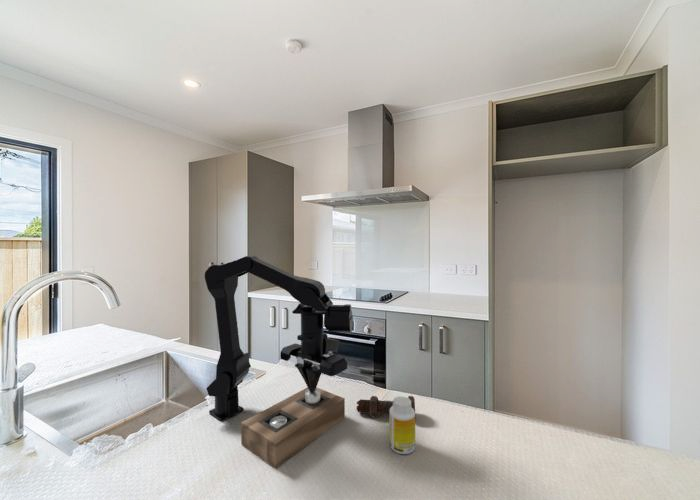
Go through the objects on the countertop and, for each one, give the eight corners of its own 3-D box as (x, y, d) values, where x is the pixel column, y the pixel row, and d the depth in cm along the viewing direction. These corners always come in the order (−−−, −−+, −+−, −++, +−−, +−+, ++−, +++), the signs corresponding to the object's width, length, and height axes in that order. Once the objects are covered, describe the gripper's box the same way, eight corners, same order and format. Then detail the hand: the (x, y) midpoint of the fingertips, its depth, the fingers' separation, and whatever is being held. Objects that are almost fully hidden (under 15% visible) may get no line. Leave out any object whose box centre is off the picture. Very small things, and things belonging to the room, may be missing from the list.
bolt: (358, 418, 79) (415, 421, 76) (355, 418, 74) (415, 422, 72) (358, 394, 81) (414, 396, 79) (356, 392, 77) (414, 395, 75)
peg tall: (266, 442, 66) (266, 421, 66) (279, 434, 69) (279, 413, 69) (277, 449, 63) (276, 427, 63) (290, 440, 67) (290, 419, 66)
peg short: (302, 411, 75) (302, 392, 74) (312, 404, 78) (312, 386, 77) (312, 416, 72) (312, 396, 72) (323, 409, 75) (323, 390, 75)
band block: (241, 444, 65) (241, 422, 65) (311, 402, 83) (311, 385, 83) (275, 469, 58) (275, 444, 58) (344, 417, 76) (344, 398, 76)
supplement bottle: (420, 450, 63) (420, 403, 63) (399, 459, 61) (399, 410, 61) (404, 435, 68) (404, 392, 68) (384, 443, 66) (384, 397, 66)
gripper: (360, 329, 75) (360, 390, 76) (308, 319, 87) (309, 371, 87) (331, 340, 67) (332, 409, 67) (278, 327, 78) (279, 385, 78)
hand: (312, 391), depth 75 cm, fingers closed, pressing on peg short
